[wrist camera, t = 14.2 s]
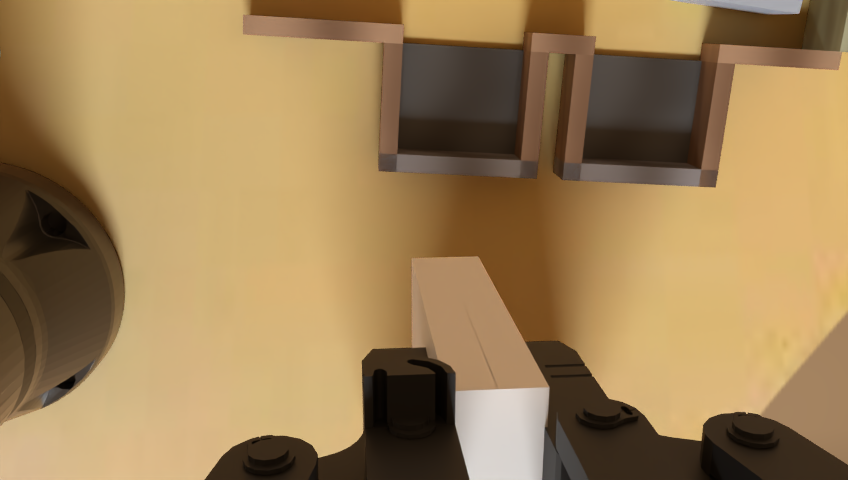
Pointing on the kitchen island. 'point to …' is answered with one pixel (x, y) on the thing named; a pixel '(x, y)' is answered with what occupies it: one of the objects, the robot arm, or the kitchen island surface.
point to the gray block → (754, 5)
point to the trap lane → (579, 107)
